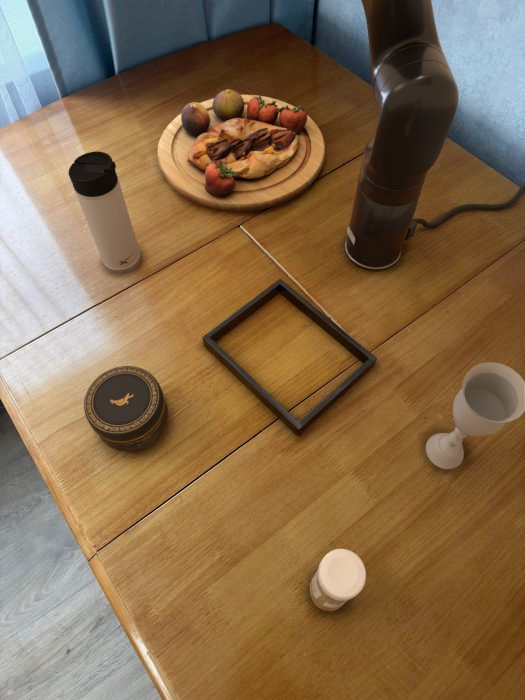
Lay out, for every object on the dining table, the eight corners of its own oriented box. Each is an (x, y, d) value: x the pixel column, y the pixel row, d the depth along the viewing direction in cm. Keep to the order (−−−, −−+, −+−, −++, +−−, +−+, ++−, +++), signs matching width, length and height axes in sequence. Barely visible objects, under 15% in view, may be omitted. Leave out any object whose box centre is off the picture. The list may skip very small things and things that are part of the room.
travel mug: (136, 277, 86) (105, 181, 69) (98, 271, 87) (57, 174, 70) (148, 249, 90) (121, 150, 72) (111, 243, 90) (75, 144, 73)
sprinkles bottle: (337, 619, 61) (354, 608, 49) (302, 597, 62) (311, 582, 50) (353, 581, 63) (374, 562, 51) (319, 561, 64) (332, 538, 52)
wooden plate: (269, 240, 90) (270, 204, 83) (124, 173, 99) (113, 135, 92) (353, 137, 104) (359, 98, 97) (219, 86, 113) (216, 47, 106)
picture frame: (279, 287, 85) (280, 278, 83) (374, 366, 78) (377, 358, 76) (203, 345, 80) (202, 336, 78) (297, 436, 72) (298, 429, 70)
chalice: (436, 416, 74) (482, 350, 58) (480, 446, 72) (540, 385, 56) (408, 455, 71) (449, 397, 55) (453, 487, 69) (509, 436, 53)
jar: (185, 422, 73) (177, 399, 67) (127, 472, 70) (113, 451, 63) (141, 377, 77) (130, 350, 70) (83, 421, 73) (66, 397, 67)
